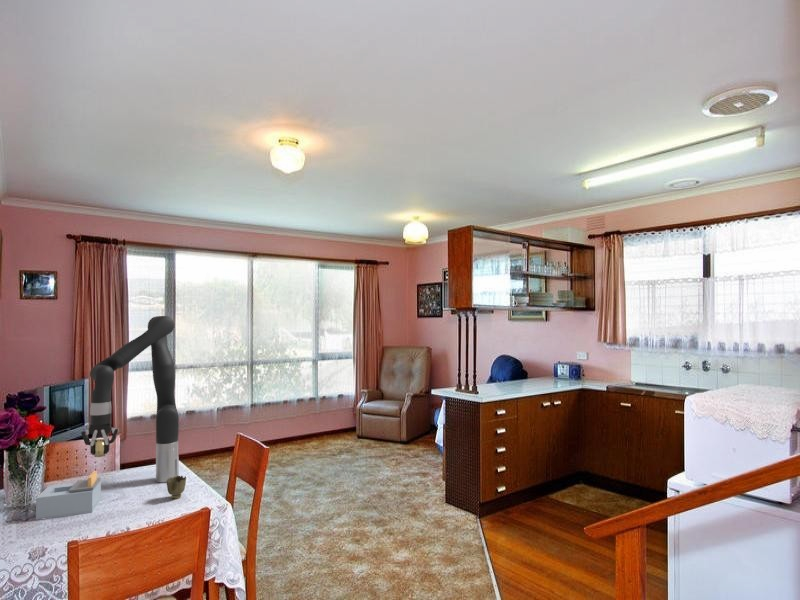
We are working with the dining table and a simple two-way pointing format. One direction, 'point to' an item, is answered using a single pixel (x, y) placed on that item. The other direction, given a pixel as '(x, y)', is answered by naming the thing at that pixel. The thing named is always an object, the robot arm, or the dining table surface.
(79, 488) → the lid
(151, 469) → the dining table surface
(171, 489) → the cup
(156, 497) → the dining table surface
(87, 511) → the housing
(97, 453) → the brass cylinder
